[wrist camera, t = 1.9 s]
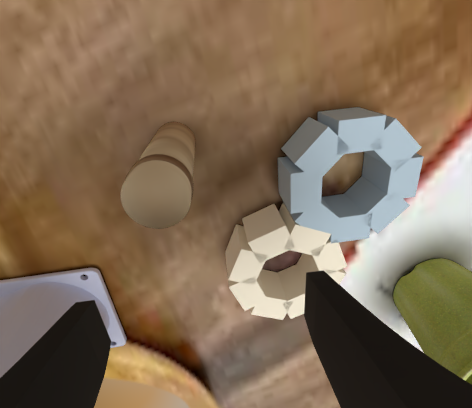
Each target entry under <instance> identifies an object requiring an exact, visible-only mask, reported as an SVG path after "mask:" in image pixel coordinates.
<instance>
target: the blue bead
mask: <svg viewBox="0 0 472 408" xmlns="http://www.w3.org/2000/svg"><path fill="white" fill-rule="evenodd" d="M420 148H422V147H421V146H420V145H419V144H418V143H417V142H416V141H415V140H414V138H413V137H412V136H411V135H410V134H409V133H408V132H407V131H406V129H405V128H404V127H403V126H402V125H401V124H400V123H399V121H398V120H397V119H396V118H393V117H389V116H386V115H384V114H380V113H377V112H373V111H370V110H366V109H363V108H359V107H354V108H345V109H337V110H329V111H320V112H318V120H317V121H316V120H314V119H312V118H310V117H308V118H307V119H306V121H305V122H304V123H303V124H302V125H301V126H300V127H299V129H298V130H297V131H296V132H295V133H294V134H293V135H292V137H291V138H290V139H289V140H288V141H287V142H286V143H285V145H284V146H283V147H282V148H281V149H282V150H283V152H284V153H285V154H286V155H287V156H286V157H278V188H279V194H280V196H281V198H282V200H283V202H284V204H285V205H286V207H287V209H288V211H289V212H290V214H291V216H292V217H293V219H294V221H295V222H296V223H298V224H299V225H300V226H303V227H307V228H311V229H314V230H318V231H322V232H325V233H329V234H331V235H330V237H329V240H330V241H331V243H335V242H336V243H338V242H345V241H352V240H359V239H366V238H369V235H370V228H372V229H373V230H374V231H375V232H376V233H379V232H380V231H382V230H383V229H384V228H385V227H386V226H387V225H388V224H389V223H391V222H392V221H393V220H394V219H395V218H396V217H397V216H398V215H399V214H401V213H402V212H403V211H404V210H405V209H406V208H407V207H408V206H410V205H409V204H408V203H407V202H406V201H405V200H404V199H403V198H409V197H415V195H416V190H417V185H418V180H419V176H420V171H421V166H422V161H423V156H421V155H419V154H416V152H417V151H418V150H419V149H420ZM356 152H364V161H363V170H362V176H361V177H360V178H359V179H358V180H357V181H356V182H355V183H354V184H353V185H352V186H351V187H350V188H349V189H348V190H347V191H346V192H345V193H344V194H340V195H332V196H325V197H321V195H322V177H323V176H324V175H325V174H326V173H327V171H328V170H329V169H330V168H331V167H332V166H333V165H334V164H335V163H336V162H337V161H338V160H339V159H340V158H341V157H342V156H343V155H344V154H348V153H356ZM334 240H335V241H334ZM332 241H333V242H332Z"/></svg>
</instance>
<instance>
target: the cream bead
mask: <svg viewBox="0 0 472 408" xmlns="http://www.w3.org/2000/svg"><path fill="white" fill-rule="evenodd" d="M242 221H243V225H244V226H241V225H237V224H236V226H235V229H234V231H233V234H232V236H231V239H230V241H229V244H228V246H227V249H226V251H225V257H226V267H227V276H228V284H229V288H230V290H231V291H232V293H233V294H234V296H235V297H236V299H237V300H238V302H239V303H240V305H241V306H242V308H243V309H244V311H245V310H248V309H250V313H251V314H252V315H257V316H263V317H269V318H274V319H280V320H283V319H284V317H285V315H286V313H288V315H289V317H290V318H291V319H292V318H294V317H297V316H299V315H302V314H304V307H305V287H306V273H307V272H315V271H325V272H326V273H327V274H328V275H329V276H330V277H331V278H333V279H334V280H335V281H336V282H337V283H338V284H340V283H341V281H342V279H343V278H344V276H345V275H346V273H345V271H344V270H343V268H345V267H347V264H346V262H345V259H344V256H343V254H342V251H341V248H340V245H339V243H336V242H335V243H331V241H330V240H329V237H330V235H331V234H329V233H325V232H322V231H318V230H314V229H311V228H307V227H303V226H300V225H299V224H298V223H296V222H295V221H294V219H293V217H292V216H291V214H290V212H289V211H288V209H287V207H286V205H285V204H284V203H282V205H281V208H280V210H279V211H278V209H277V208H276V206H275V204H272V205H270V206H268V207H265V208H263V209H261V210H259V211H257V212H255V213H253V214H251V215H248V216H246V217H244V218H242ZM334 241H335V240H334ZM332 242H333V241H332ZM288 250H292V251H296V252H300V253H302V255H301V257H300V259H299V261H298V263H297V264H296V265H293V266H291V267H289V268H287V269H284V270H282V271H280V272H273V271H268V270H264V269H262V267H263V265H264V263H265V261H266V260H268V259H270V258H273V257H275V256H277V255H279V254H282V253H284V252H286V251H288Z"/></svg>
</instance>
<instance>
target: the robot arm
mask: <svg viewBox="0 0 472 408" xmlns="http://www.w3.org/2000/svg"><path fill="white" fill-rule="evenodd" d="M83 274H84V275H87V276H88V277H86V276H83ZM304 316H305V319H306V323H307V326H308V329H309V332H310V336H311V339H312V342H313V345H314V347H315V349H316V352H317V354H318V356H319V359H320V361H321V363H322V365H323V368H324V370H325V372H326V375H327V377H328V379H329V381H330V384H331V386H332V388H333V391H334V393H335V395H336V397H337V400H338V402H339V404H340V407H341V408H472V384H470V383H468V382H467V381H465V380H464V379H462V378H460V377H459V376H457V375H456V374H454V373H453V372H451V371H449V370H448V369H446V368H445V367H443V366H442V365H440V364H439V363H437V362H436V361H435V360H433V359H432V358H430V357H429V356H427V355H426V354H424V353H423V352H421V351H420V350H418V349H417V348H416V347H414V346H413V345H412V344H410V343H409V342H407V341H406V340H405V339H404V338H402V337H401V336H400V335H398V334H397V333H396V332H394V331H393V330H392V329H391V328H389V327H388V326H387V325H386V324H384V323H383V322H382V321H381V320H379V319H378V318H377V317H376V316H375V315H373V314H372V313H371V312H370V311H369V310H367V309H366V308H365V307H364V306H363V305H361V304H360V303H359V302H358V301H357V300H356V299H355V298H353V297H352V296H351V295H350V294H349V293H348V292H347V291H346V290H345V289H343V288H342V287H341V286H340V285H339V284H338V283H337V282H336V281H335V280H334V279H333V278H331V277H330V276H329V275H328V274H327V273H326V272H325V271H315V272H307V273H306V287H305V307H304ZM126 340H127V338H126V335H125V333H124V330H123V328H122V325H121V323H120V320H119V318H118V315H117V313H116V310H115V308H114V305H113V303H112V300H111V298H110V295H109V293H108V290H107V288H106V285H105V283H104V280H103V278H102V275H101V273H100V271H99V270H98V269H96V268H85V269H78V270H71V271H64V272H56V273H49V274H42V275H35V276H28V277H21V278H14V279H7V280H0V408H94V406H95V403H96V400H97V396H98V393H99V390H100V387H101V384H102V381H103V378H104V375H105V370H106V366H107V361H108V356H109V351H110V348H113V347H119V346H123V345H125V343H126Z"/></svg>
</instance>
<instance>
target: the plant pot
mask: <svg viewBox="0 0 472 408" xmlns="http://www.w3.org/2000/svg"><path fill="white" fill-rule="evenodd" d="M393 299H394V303H395V305H396V307H397V308H398V310H399V311H400V313H401V315H402V316H403V318H404V320H405V321H406V323H407V325H408V326H409V328H410V330H411V332H412V333H413V335H414V337H415V338H416V340H417V342H418V343H419V345H420V347H421V348H422V350H423V352H424V354H426V355H427V356H429V357H430V358H432V359H433V360H435V361H436V362H437V363H439V364H440V365H442V366H443V367H445V368H446V369H448V370H449V371H451V372H453V373H454V374H456V375H457V376H459V377H460V378H462V379H464V380H465V381H467V382H468V383H470V384H472V272H471V271H469V270H468V269H466V268H464V267H462V266H461V265H459V264H457V263H456V262H454V261H451V260H448V259H441V258H438V259H431V260H427V261H424V262H422V263H420V264H418V265H416V267H415V268H414V270H413V271H412V272H410V273H409V274H407V275H405V276H403V277H401V278H400V280H399V281H398V283H397V284H396V286H395V289H394V293H393Z"/></svg>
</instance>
